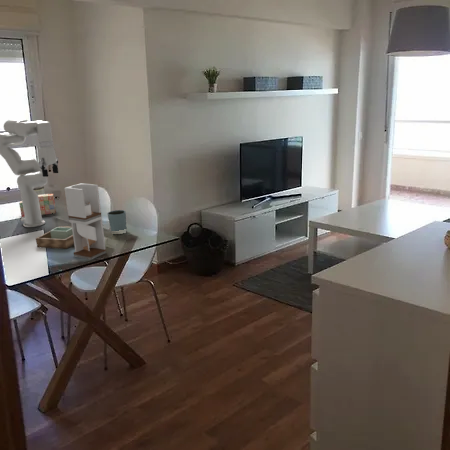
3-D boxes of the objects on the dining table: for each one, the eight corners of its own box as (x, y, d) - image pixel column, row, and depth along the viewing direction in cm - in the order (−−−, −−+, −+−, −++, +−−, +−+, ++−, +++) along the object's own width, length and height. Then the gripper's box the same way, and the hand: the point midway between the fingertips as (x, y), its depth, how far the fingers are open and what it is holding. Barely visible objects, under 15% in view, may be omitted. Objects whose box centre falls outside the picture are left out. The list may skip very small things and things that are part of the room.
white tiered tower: (74, 256, 255) (64, 187, 245) (89, 249, 264) (81, 183, 253) (90, 259, 249) (81, 189, 239) (106, 252, 258) (97, 184, 248)
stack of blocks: (21, 216, 334) (18, 198, 330) (22, 214, 340) (19, 196, 336) (55, 213, 338) (52, 195, 335) (56, 211, 344) (53, 193, 341)
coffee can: (28, 208, 353) (25, 188, 349) (34, 205, 363) (31, 185, 359) (43, 208, 353) (40, 188, 349) (49, 204, 363) (46, 185, 359)
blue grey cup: (123, 235, 284) (121, 214, 281) (106, 235, 286) (104, 214, 283) (130, 230, 294) (128, 209, 290) (114, 229, 296) (111, 209, 292)
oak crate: (37, 247, 272) (35, 238, 270) (60, 234, 292) (59, 226, 290) (66, 248, 267) (65, 239, 265) (88, 235, 287) (87, 227, 285)
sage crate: (51, 241, 277) (50, 230, 276) (58, 237, 283) (57, 227, 281) (68, 242, 274) (66, 231, 273) (74, 238, 280) (73, 227, 279)
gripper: (49, 142, 293) (53, 171, 298) (30, 146, 277) (35, 177, 282) (61, 142, 291) (65, 171, 296) (42, 146, 275) (47, 178, 280)
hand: (50, 174), depth 289 cm, fingers open, 9 cm apart
